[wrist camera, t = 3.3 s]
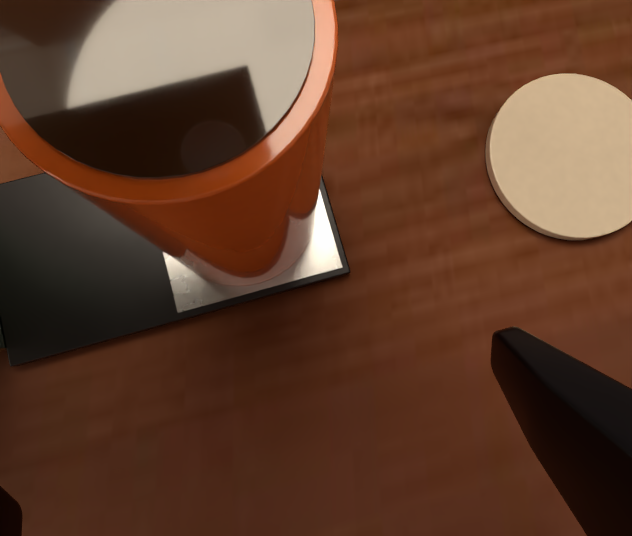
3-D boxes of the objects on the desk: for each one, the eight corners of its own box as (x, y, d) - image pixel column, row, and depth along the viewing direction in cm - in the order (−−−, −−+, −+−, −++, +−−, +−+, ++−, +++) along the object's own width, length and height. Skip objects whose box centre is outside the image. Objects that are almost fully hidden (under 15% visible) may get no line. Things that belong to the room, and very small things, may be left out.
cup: (345, 191, 23) (407, -13, 10) (258, 316, 22) (196, 277, 9) (222, 109, 23) (122, -193, 10) (131, 229, 22) (-111, 66, 9)
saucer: (680, 138, 24) (689, 133, 24) (599, 274, 23) (607, 272, 22) (538, 49, 25) (544, 42, 24) (453, 178, 23) (457, 174, 23)
